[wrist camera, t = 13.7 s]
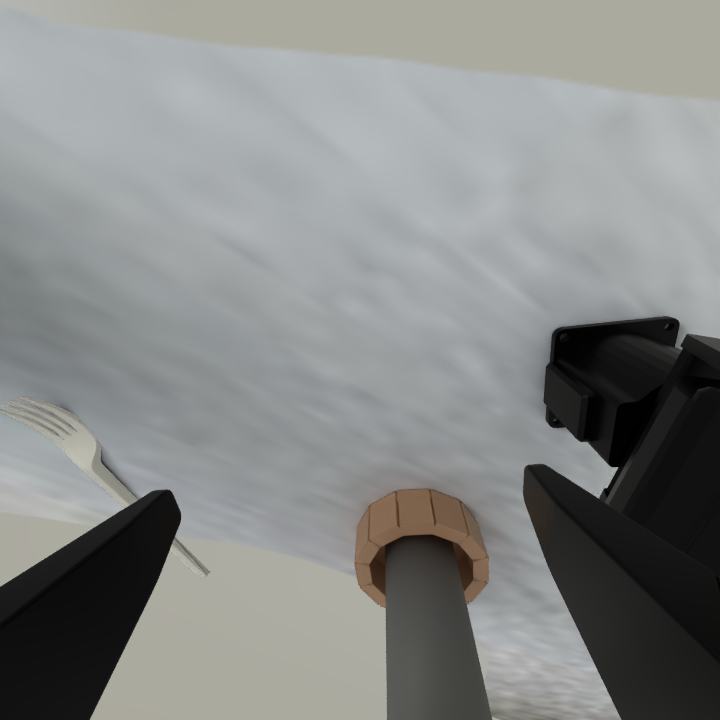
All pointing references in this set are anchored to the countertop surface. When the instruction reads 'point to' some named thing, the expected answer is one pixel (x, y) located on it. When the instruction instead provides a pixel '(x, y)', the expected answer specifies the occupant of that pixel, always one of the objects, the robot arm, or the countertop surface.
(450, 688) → the pepper mill
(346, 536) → the countertop surface
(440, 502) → the terracotta bowl
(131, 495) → the off-white fork
